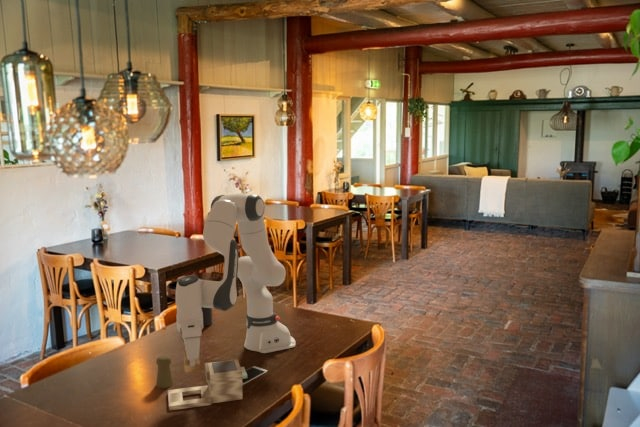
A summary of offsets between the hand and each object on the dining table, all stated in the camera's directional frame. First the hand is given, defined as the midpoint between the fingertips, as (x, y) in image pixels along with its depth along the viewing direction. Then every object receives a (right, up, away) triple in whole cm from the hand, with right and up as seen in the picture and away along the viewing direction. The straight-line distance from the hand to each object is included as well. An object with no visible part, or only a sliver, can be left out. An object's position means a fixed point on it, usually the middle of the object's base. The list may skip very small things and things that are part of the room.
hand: (191, 361), depth 191 cm
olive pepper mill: (-13, -12, +13) cm, 22 cm away
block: (0, -3, 0) cm, 3 cm away
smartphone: (+17, -12, +21) cm, 29 cm away
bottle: (-11, -2, +75) cm, 76 cm away
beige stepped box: (+4, -14, +3) cm, 14 cm away
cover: (+11, -6, +4) cm, 14 cm away
